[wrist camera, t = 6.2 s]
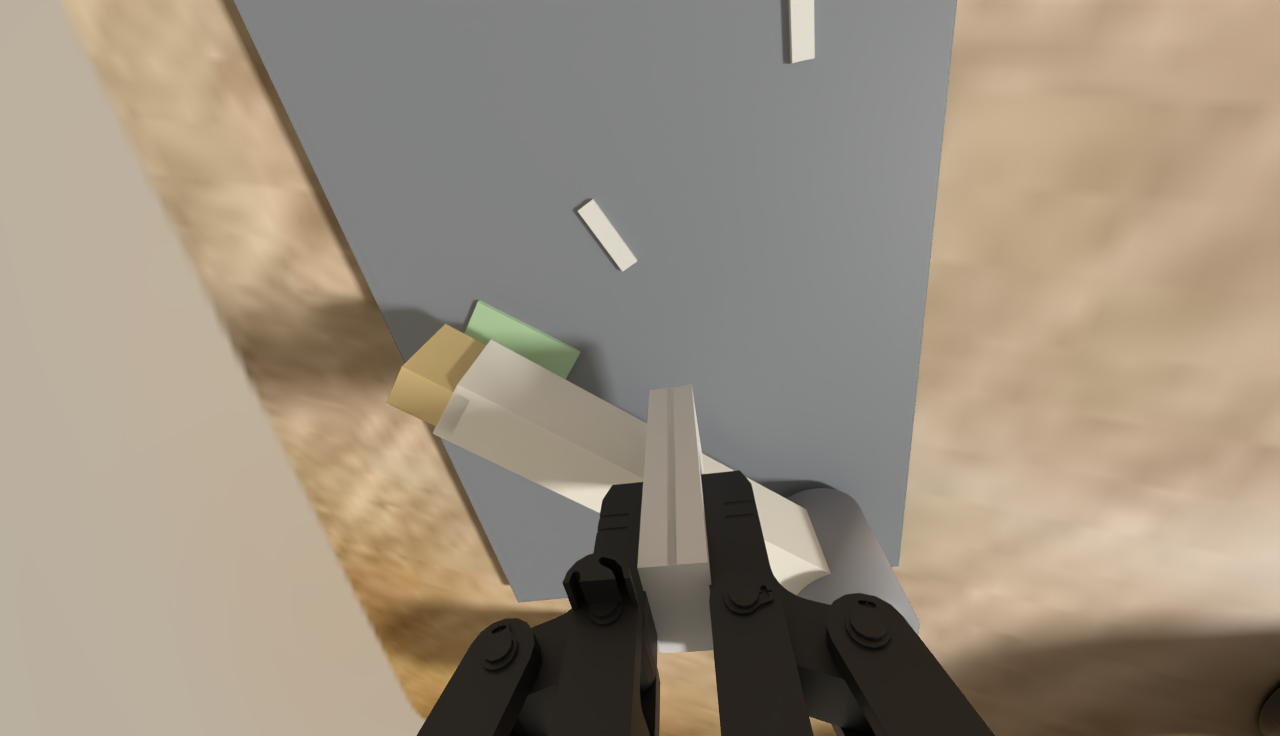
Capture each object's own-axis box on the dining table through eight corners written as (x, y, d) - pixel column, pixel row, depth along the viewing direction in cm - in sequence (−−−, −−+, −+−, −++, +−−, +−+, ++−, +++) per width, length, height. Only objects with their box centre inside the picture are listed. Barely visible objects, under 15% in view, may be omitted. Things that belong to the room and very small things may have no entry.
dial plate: (889, 549, 23) (900, 569, 22) (522, 585, 25) (517, 605, 24) (966, -329, 10) (1002, -380, 9) (210, -104, 12) (168, -125, 11)
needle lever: (881, 514, 20) (945, 625, 16) (817, 566, 22) (859, 680, 17) (471, 282, 16) (399, 346, 11) (430, 369, 17) (353, 455, 13)
